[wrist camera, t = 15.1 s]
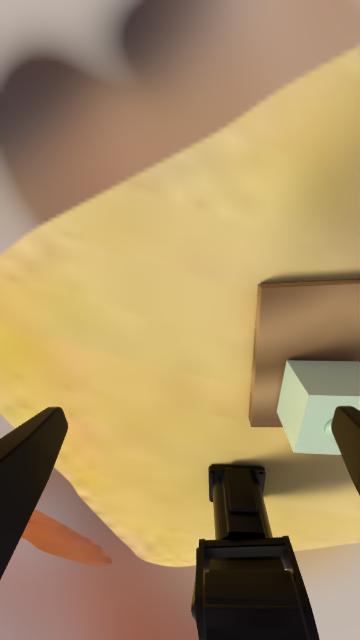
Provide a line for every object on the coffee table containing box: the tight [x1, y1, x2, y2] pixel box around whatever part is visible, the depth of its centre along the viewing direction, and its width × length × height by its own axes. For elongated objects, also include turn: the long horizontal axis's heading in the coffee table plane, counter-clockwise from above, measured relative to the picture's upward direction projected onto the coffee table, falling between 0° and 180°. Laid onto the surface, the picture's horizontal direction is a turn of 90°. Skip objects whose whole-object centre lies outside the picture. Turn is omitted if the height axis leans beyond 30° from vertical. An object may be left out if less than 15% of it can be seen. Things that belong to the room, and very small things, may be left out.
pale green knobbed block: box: [277, 360, 360, 455], centre depth 17 cm, size 6×6×4 cm
